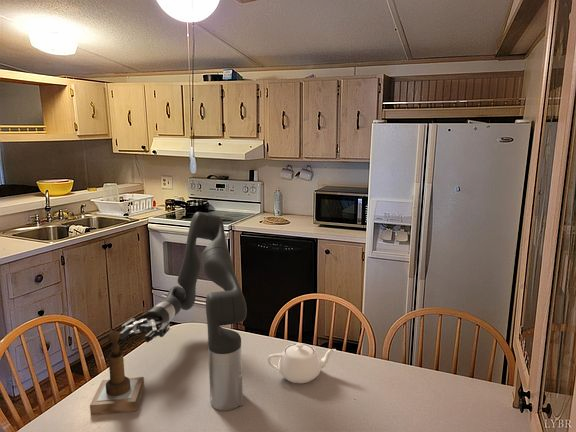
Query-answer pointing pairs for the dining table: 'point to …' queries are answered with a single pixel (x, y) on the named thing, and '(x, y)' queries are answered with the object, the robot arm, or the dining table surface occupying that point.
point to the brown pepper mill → (116, 369)
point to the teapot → (300, 362)
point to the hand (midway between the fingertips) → (133, 338)
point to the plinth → (117, 398)
